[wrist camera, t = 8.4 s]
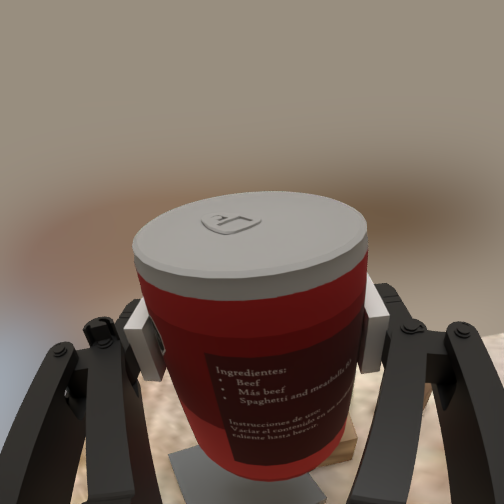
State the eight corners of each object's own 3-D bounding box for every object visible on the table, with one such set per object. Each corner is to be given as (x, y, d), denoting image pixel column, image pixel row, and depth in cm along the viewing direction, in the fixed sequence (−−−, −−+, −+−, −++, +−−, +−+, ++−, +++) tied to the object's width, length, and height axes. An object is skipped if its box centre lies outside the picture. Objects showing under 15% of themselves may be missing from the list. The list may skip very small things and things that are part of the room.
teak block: (341, 426, 26) (345, 402, 25) (351, 460, 23) (357, 437, 21) (299, 434, 26) (299, 410, 25) (306, 469, 22) (307, 448, 21)
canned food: (244, 358, 20) (219, 187, 16) (364, 395, 16) (388, 198, 11) (165, 441, 14) (84, 248, 10) (304, 511, 10) (317, 307, 6)
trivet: (270, 424, 28) (269, 418, 27) (325, 502, 19) (327, 497, 19) (171, 460, 24) (167, 454, 24) (209, 550, 16) (205, 547, 15)
